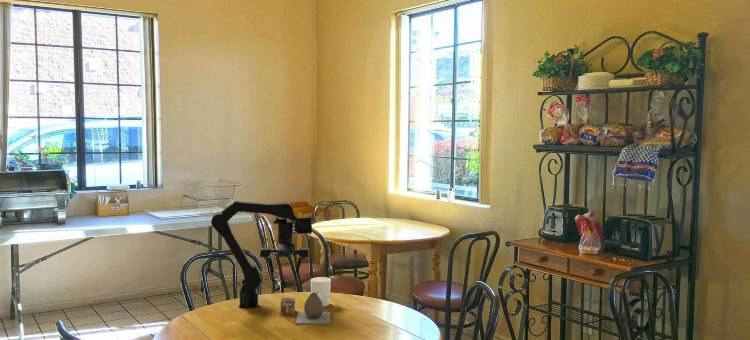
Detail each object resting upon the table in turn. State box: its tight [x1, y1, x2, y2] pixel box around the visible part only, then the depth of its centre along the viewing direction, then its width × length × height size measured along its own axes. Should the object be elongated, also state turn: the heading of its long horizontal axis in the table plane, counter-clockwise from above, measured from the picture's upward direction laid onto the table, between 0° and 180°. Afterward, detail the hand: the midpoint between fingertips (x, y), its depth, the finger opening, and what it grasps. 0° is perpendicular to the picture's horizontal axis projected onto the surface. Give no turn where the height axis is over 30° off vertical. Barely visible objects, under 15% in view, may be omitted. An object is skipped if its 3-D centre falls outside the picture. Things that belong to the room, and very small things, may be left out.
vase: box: [303, 292, 324, 319], centre depth 229 cm, size 7×7×9 cm
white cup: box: [310, 276, 332, 308], centre depth 247 cm, size 8×8×10 cm
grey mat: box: [295, 311, 331, 325], centre depth 229 cm, size 12×12×1 cm
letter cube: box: [280, 297, 296, 315], centre depth 236 cm, size 5×5×5 cm
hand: (285, 273), depth 246 cm, fingers open, 9 cm apart
